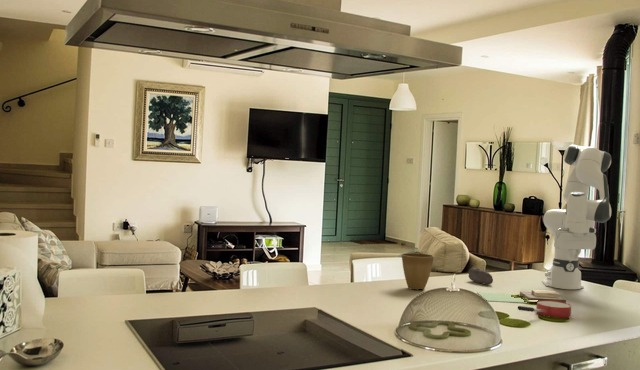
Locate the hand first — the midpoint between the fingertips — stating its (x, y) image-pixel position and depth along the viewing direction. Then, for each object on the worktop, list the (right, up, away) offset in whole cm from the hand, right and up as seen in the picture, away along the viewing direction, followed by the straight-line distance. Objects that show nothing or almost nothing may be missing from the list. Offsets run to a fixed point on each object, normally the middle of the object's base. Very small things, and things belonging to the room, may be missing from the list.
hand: (574, 259), depth 277 cm
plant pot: (-69, -16, +13) cm, 72 cm away
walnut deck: (-14, -18, +1) cm, 23 cm away
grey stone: (-32, -17, +36) cm, 51 cm away
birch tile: (-13, -16, +1) cm, 21 cm away
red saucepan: (-26, -19, -34) cm, 47 cm away
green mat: (-32, -18, +1) cm, 36 cm away
